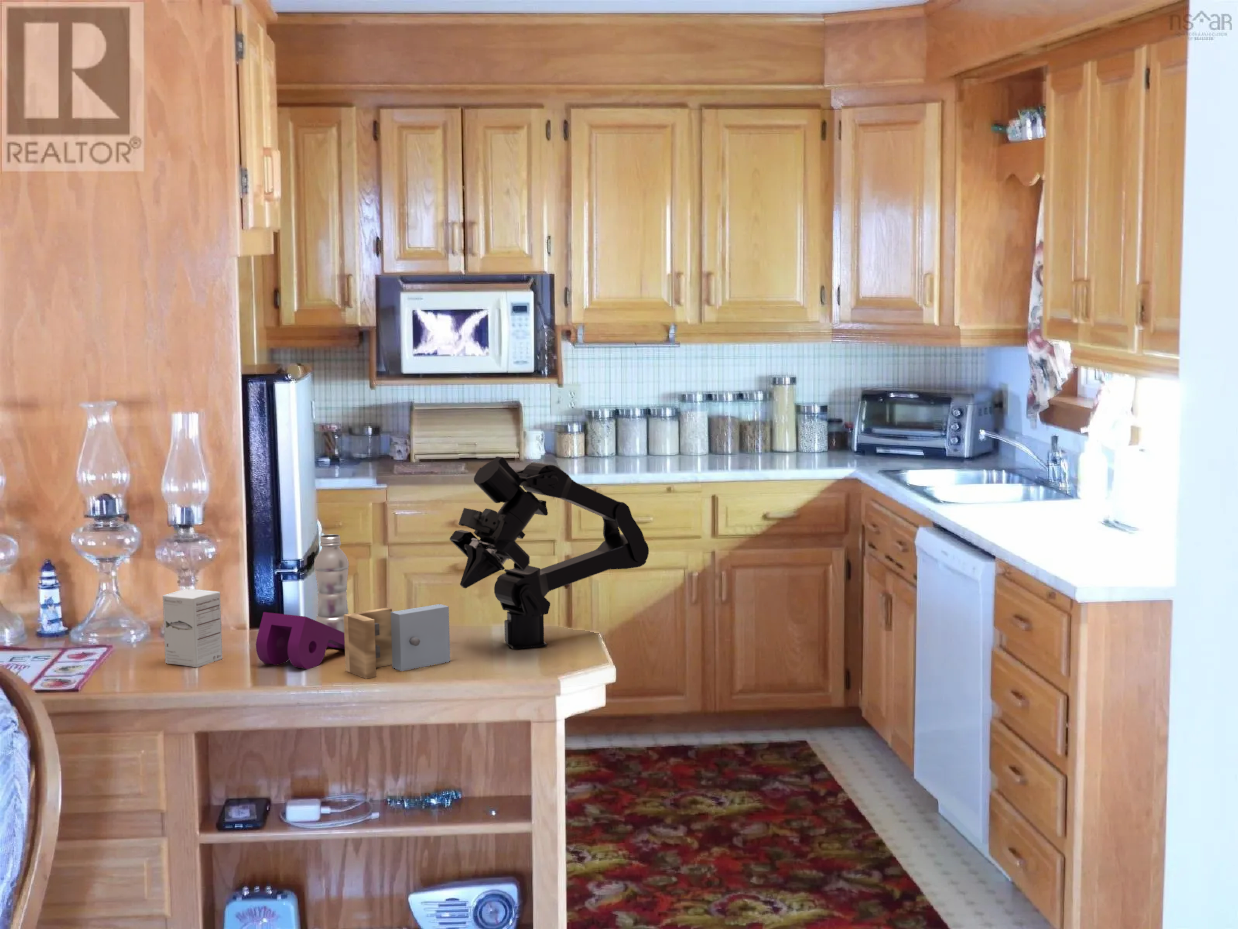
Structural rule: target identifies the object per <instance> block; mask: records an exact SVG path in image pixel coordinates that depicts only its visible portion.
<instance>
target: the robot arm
mask: <svg viewBox="0 0 1238 929" xmlns="http://www.w3.org/2000/svg"><path fill="white" fill-rule="evenodd" d="M473 482H474V484H475V485H477V486H478V488H479V489H481V491H482V492H483V493H484V494H485V495H487V496H488V498H489V499H490V500H491V501H492V502H493V503H495V504H500V503H503V504H502V506H501V507H500V509H499V510H498V511H496V510H494V509H491V508H484V510H483V511H480V510H476V509H471V508H468V507H467V508H466V507H463V510H462V513H461V516H460V518H459V522H458V525H459V526H461V527H467V528H468V529H471V530H474V531H473V532H471V531H468V530H464V529H458V530H455V531H453V533H452V535H451V536H450V537H449V541H450V542H451V543H452V544H454V545H455V546H456V548H457V549H458V550H459V551H461V553H462V554H464V556H466V557H467V560H466V564H465V566H464V571H463V573H462V576H461V580H460V583H459V585H460V586H461V588H463V589H467V588H470V587H471V586H473V585H475V584H476V583H478V582H481V581H482V580H483V579H484V580H485V579H486V578H488V577H489V576H492V575H493V574H496V573H498V572H500V571H504V573H502V574H500V575H499V576H497V578H496V581H495V582H494V587H493V590H494V592H493V593H494V596H495V598H496V599H497V601H498V602H499V603H500V606H501V608H502V610H503V611H506V619H505V620H504V621H503V623H504V627H503V628H504V643H506V644H507V645H508V646H509V647H510V648H511V649H513V650H519V649H530V648H542V647H547V646H548V643H547V642H546V641H545V627H544V623H545V622H544V620H545V619H544V617H545V616H544V615H548V614H549V611H550V607H551V602H550V601H549V600H548V599H547V598H546V596H547V594H548V593H549V592H552V591H553V590H557V589H559V588H562V587H564V586H568V585H570V584H574V583H576V582H579V581H581V580H584V579H587V578H589V577H592V576H595V575H597V574H598V575H599V574H600V573H603V572H606V571H609V570H627V569H635V568H641V567H643V566H644V565H645V564H646V563H647V560H648V557H649V554H650V553H649V552H650V551H649V550H650V549H649V548H650V547H649V546H648V545H649V544H648V543H647V541H646V539H645V536H644V533H643V531H642V530H641V528H640V527H639V524H637V522H636V520H635V519H634V518H633V515H632V512H631V509H630V506H629V505H628V504H627V503H625V502H624V501H619V500H615V499H614V498H612V497H609V496H607V495H605V494H603V493H601V492H598V491H596V490H593V489H591V488H589V487H587V486H585V485H583V484H580V483H578V482H576V481H575V480H574V479H572V478H571V476H570V475H569V474H568V473H566V472H565V471H564V470H562V469H561V468H560V467H558V466H557V465H553V464H548V463H542V462H541V463H540V462H536V461H535V462H530V463H529V464H527V465H526V466H525V467H524V468H523V469H521V470H517V471H515V469H514V468H513V467H511V466H510V465H509V463H508V461H507V460H506V459H505V458H504V457H503V456H495V457H494V458H493V460H491V461H488V462H487V463H486V464H483V466H482V467H479V469H477V471H476V473H475V475H474V477H473ZM535 494H536V495H541V496H546V497H551V498H555V499H560V500H563V501H565V502H567V503H570V504H572V505H574V506H576V507H578V508H581V509H583V510H586V511H588V512H590V513H592V514H594V515H597V516H598V517H599V516H600V517H602V520H603V521H602V522H603V527H602V529H603V530H602V536H603V539H604V541H602V543H600V545H599V546H598V547H597V548H596V549H595V550H591V551H588V552H586V553H585V552H584V553H583V554H579V555H577V556H574V557H571V558H568V559H565V560H562V561H560V562H558V563H554V564H551V565H549V566H546V567H543V568H539V567H536V566H532V565H530V564H531V562H530V560H531V559H530V555H529V554H528V553H527V552H526V551H525V550H524V549H523V548H522V546H520V545H519V544H518V542H516V541H517V540H518V539H521V540H523V539H524V537H525V536H526V534H525V533H524V530H525V528H526V527H527V526H528V524H529V522H530V521H531V520H532V519H533V517H534V515H540V516H544V517H545V516H546V517H547V516H548V514H549V512H548V507H547V501H546V500H543V499H538V498H537V496H536V495H535ZM620 531H621V532H620ZM509 560H511V561H512V562H513V568H510V569H506V567H505V566H504V564H505V563H506V561H509Z"/></svg>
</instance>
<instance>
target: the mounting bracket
mask: <svg viewBox="0 0 1238 929" xmlns="http://www.w3.org/2000/svg"><path fill="white" fill-rule="evenodd" d="M327 648H333V649H338V650H339V649H340V650H345V637H344V632H341V631H339V630H337V629H334V628H332V627H329V626H327V625H325V624H322V623H320V622H318V621H316V619H312V618H310V617H308V616H305V615H294V614H286V613H276V612H275V613H274V612H267V611H263V613H262V617H261V621H260V624H259V629H258V631H257V636H256V640H255V650H256V654H257V657H258V659H259V660H260V662H262V663H264V664H265V665H272V664H273V665H274V666H278V665H277V664H279V665H281V663H282V664H284V662H285V663H286V661H287V662H288V661H289V662H290V664H291V665H292V666H294V668H298V669H303V670H306V669H307V670H311V669H313V668H315V667H319V665H320V664H321V663H322V661H323V660H324V657H325V656H326V651H327ZM273 665H272V666H273Z"/></svg>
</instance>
